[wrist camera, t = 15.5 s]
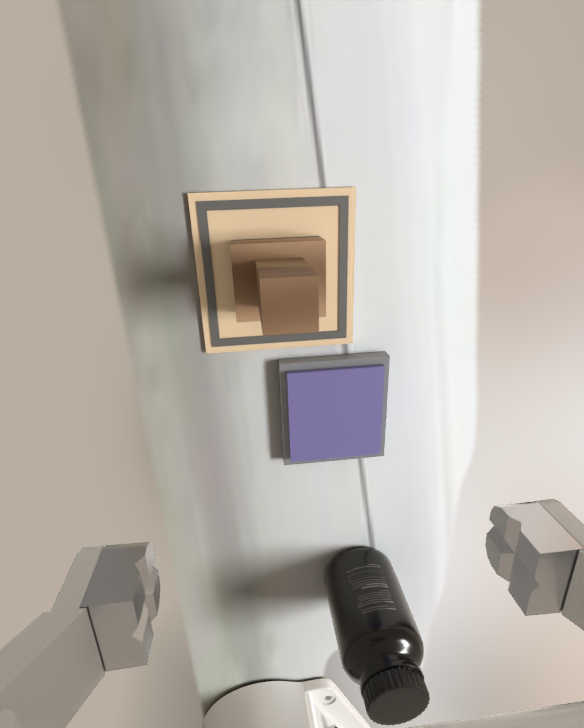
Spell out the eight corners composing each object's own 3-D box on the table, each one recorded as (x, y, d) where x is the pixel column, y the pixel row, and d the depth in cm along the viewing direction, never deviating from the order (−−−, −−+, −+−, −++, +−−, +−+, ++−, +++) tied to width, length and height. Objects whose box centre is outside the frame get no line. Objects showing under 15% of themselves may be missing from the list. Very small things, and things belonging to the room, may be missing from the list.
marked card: (351, 341, 33) (352, 343, 33) (206, 352, 32) (206, 353, 32) (354, 187, 29) (356, 187, 29) (188, 193, 28) (187, 193, 28)
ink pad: (380, 449, 37) (385, 459, 36) (283, 458, 37) (284, 468, 35) (385, 351, 34) (391, 358, 32) (278, 359, 33) (280, 366, 32)
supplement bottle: (309, 584, 43) (334, 724, 32) (346, 535, 41) (386, 665, 30) (366, 603, 44) (408, 741, 33) (404, 557, 43) (462, 687, 32)
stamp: (319, 306, 32) (346, 347, 24) (236, 312, 31) (235, 355, 23) (319, 235, 30) (347, 254, 22) (230, 240, 29) (227, 260, 21)
